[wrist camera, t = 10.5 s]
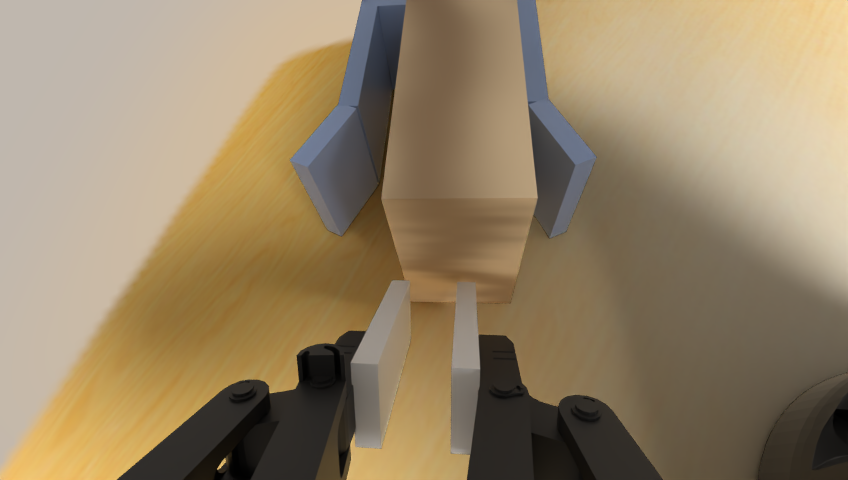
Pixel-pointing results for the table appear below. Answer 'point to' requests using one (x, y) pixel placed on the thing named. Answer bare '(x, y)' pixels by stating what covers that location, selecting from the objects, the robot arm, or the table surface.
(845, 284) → the table surface
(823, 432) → the robot arm
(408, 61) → the block
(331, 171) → the blue u-shaped bracket
